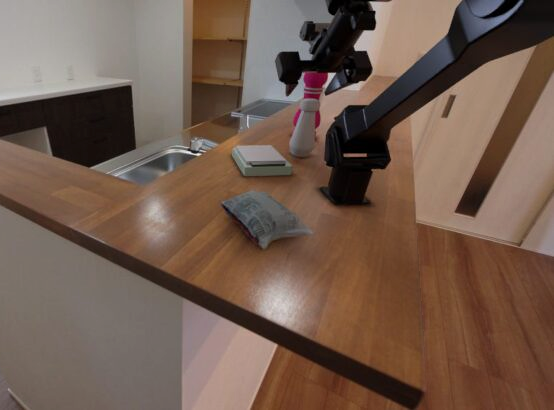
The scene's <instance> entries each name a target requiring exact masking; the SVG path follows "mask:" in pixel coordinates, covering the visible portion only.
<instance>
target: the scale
mask: <svg viewBox="0 0 554 410" xmlns="http://www.w3.org/2000/svg"><path fill="white" fill-rule="evenodd" d="M231 152H232V153H231V157H232V158H233V160H234V162H235V163H236V165H237V166H238V168H239V170H240V171H241V174H242V175H243V176H244V177H266V176H270V177H272V176H273V177H274V176H291V175H292V171H293V165H292V164H291V163H290V162H289V161H288V160H287V159H286V158H285V157H284V156H283V155H282V154H281V153H280V152H279V151H278V150H277V149H276V148H275V147H274V146H273V145H272V144H260V145H259V144H257V145H256V144H255V145H254V144H253V145H235V147H232V151H231Z"/></svg>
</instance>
